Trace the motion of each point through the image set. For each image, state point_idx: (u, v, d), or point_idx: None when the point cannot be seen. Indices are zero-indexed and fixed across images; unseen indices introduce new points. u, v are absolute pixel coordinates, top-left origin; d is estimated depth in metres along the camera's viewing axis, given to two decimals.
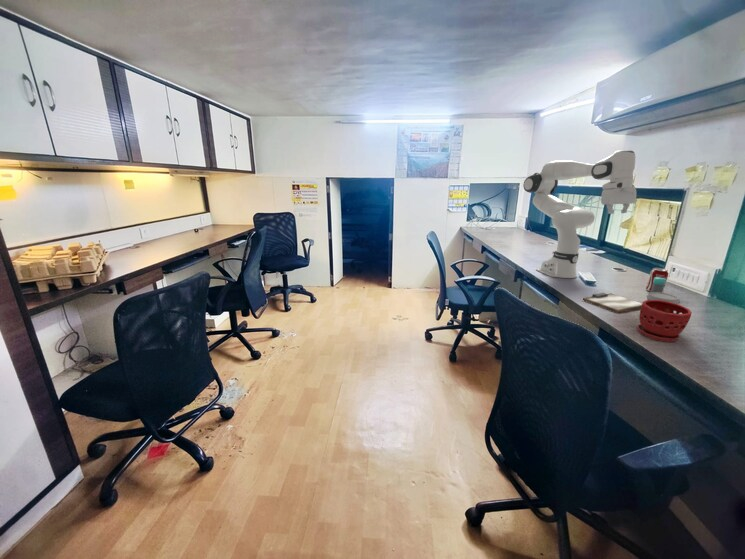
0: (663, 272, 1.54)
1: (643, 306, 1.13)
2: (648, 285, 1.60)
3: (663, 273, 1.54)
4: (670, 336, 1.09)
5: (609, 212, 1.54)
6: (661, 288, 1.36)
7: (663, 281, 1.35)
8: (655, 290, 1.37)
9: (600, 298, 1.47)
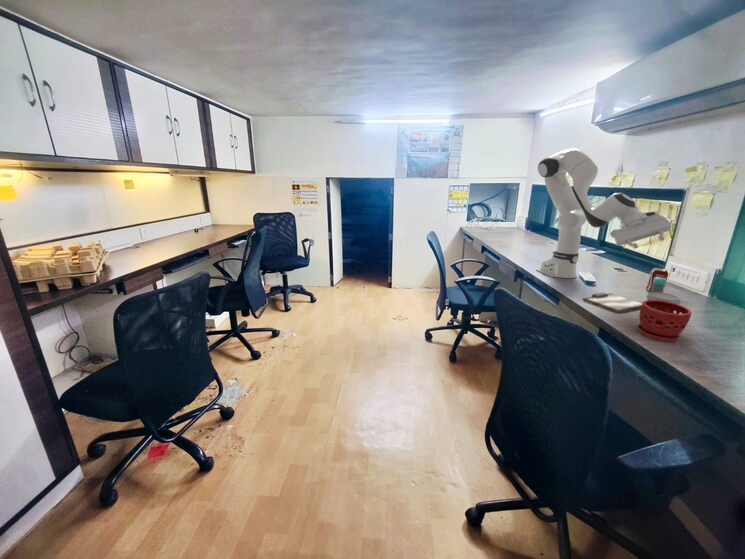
0: (663, 272, 1.54)
1: (643, 306, 1.13)
2: (648, 285, 1.60)
3: (663, 273, 1.54)
4: (670, 336, 1.09)
5: None
6: (661, 288, 1.36)
7: (663, 281, 1.35)
8: (655, 290, 1.37)
9: (600, 298, 1.47)
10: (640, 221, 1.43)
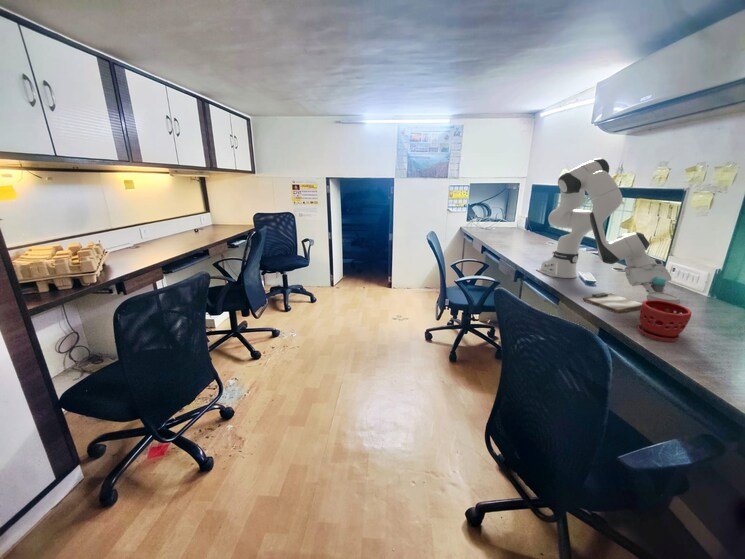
0: None
1: (643, 306, 1.13)
2: None
3: None
4: (670, 336, 1.09)
5: None
6: (661, 288, 1.36)
7: (663, 281, 1.35)
8: None
9: (600, 298, 1.47)
10: (652, 266, 1.41)
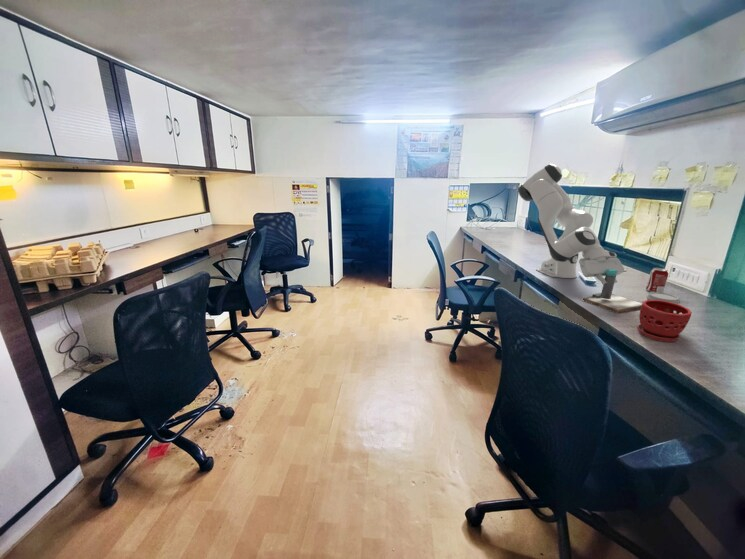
0: (663, 272, 1.54)
1: (643, 306, 1.13)
2: (648, 285, 1.60)
3: (663, 273, 1.54)
4: (670, 336, 1.09)
5: None
6: (613, 279, 1.40)
7: (614, 272, 1.39)
8: None
9: (600, 298, 1.47)
10: (605, 258, 1.45)
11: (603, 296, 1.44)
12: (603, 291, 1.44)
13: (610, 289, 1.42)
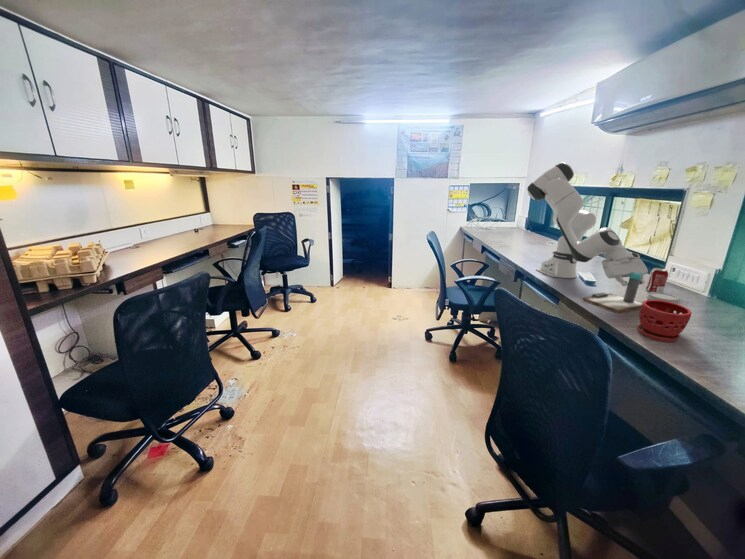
0: (663, 272, 1.54)
1: (643, 306, 1.13)
2: (648, 285, 1.60)
3: (663, 273, 1.54)
4: (670, 336, 1.09)
5: None
6: (637, 283, 1.39)
7: (639, 276, 1.38)
8: (631, 285, 1.40)
9: (600, 298, 1.47)
10: (628, 259, 1.43)
11: (626, 300, 1.42)
12: (626, 295, 1.42)
13: (634, 293, 1.40)
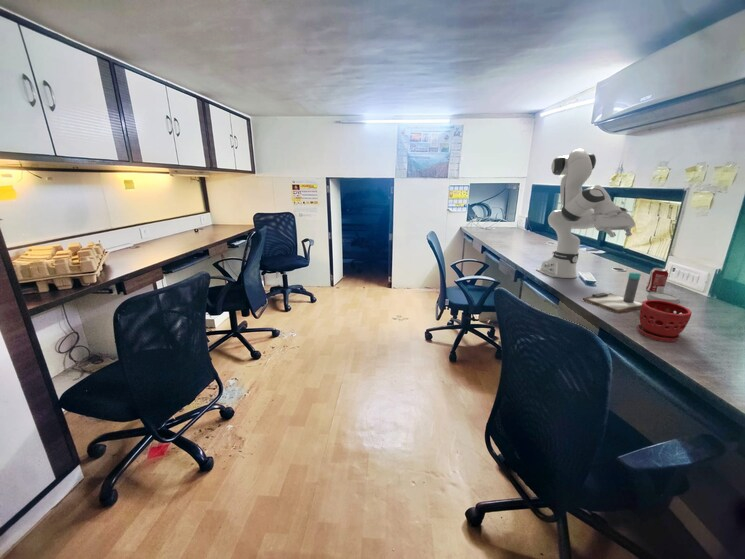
0: (663, 272, 1.54)
1: (643, 306, 1.13)
2: (648, 285, 1.60)
3: (663, 273, 1.54)
4: (670, 336, 1.09)
5: None
6: (636, 283, 1.39)
7: (638, 276, 1.38)
8: (630, 285, 1.40)
9: (600, 298, 1.47)
10: (616, 213, 1.51)
11: (626, 300, 1.42)
12: (626, 295, 1.42)
13: (633, 293, 1.40)
